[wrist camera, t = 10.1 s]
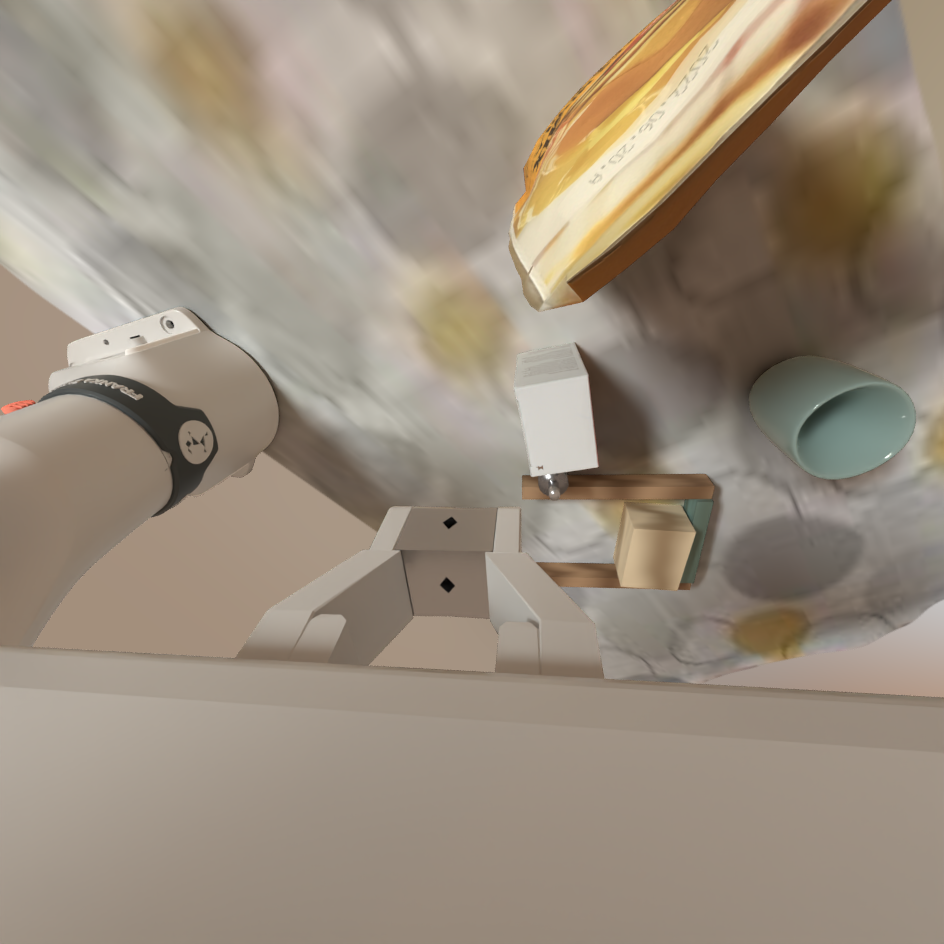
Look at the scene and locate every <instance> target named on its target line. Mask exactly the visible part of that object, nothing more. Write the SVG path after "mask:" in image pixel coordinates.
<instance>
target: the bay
mask: <svg viewBox="0 0 944 944" xmlns="http://www.w3.org/2000/svg"><path fill="white" fill-rule="evenodd" d="M567 476H568V482H569V485H568V488H567V490H566V491H565V492H564V493H563V494H562V495H560V498H559V499H685V503H684V508H683V510H684V511H685V513H686V515H687V517H688V519H689V521H690V522H691V524H692V526H693V528H694V530H695V531H696V534H695V538H694V541H693V544H692V547H691V550H690V553H689V556H688V559H687V562H686V565H685V569H684V572H683V575H682V578H681V581H680V584H679V587H678V590H690V587H691V583H694V580H695V576H696V572H697V568H698V563H699V559H700V555H701V551H702V547H703V543H704V539H705V535H706V531H707V527H708V523H709V519H710V515H711V510H712V506H713V500H712V496H713V492H714V488H715V486H714V485H713V483H712V482H711V481H710V479H709V478H708V477H707V475H706V474H639V475H567ZM522 499H550V498H549V496H547V495H545V494H543V493H542V492H541V491H540V489H539V486H538V476H535V477H531V475H522ZM536 563H537V564H538V565H539V566H540V567H541V568H542V569H543V570H544V571H545V572H546V573H547V574H548V575H549V577H550V578H551V579H552V580H553V581H554V582H555V583H556V584H557V585H558V586H560V587H598V588H633V587H621V586H620V582H619V578H618V574H617V570H616V566H615V564H596V563H543V562H536ZM637 589H647V588H637Z"/></svg>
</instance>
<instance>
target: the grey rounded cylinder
mask: <svg viewBox="0 0 944 944" xmlns="http://www.w3.org/2000/svg"><path fill="white" fill-rule="evenodd" d="M568 485H569V482H568V476H567V472H563V473H556V474H549V475H542V476H538V486H539V489H540V491H541V492H542V493H543V494H545V495H547V496H549V498H550V499H551V500H558V499H559V498H560V495H562V494H563V493H564V492H565V491H566V490H567V488H568Z"/></svg>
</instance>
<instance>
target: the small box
mask: <svg viewBox="0 0 944 944" xmlns="http://www.w3.org/2000/svg"><path fill="white" fill-rule="evenodd" d="M514 393H515V397H516V401H517V405H518V410H519V414H520V419H521V424H522V429H523V434H524V439H525V445H526V450H527V455H528V461H529V468H530V475H531V477H535V476H542V475H549V474H556V473H563V472H570V471H577V470H584V469H590V468H597V467H599V460H598V451H597V442H596V434H595V425H594V416H593V407H592V399H591V390H590V382H589V374H588V372H587V370H586V368H585V365H584V363H583V361H582V359H581V356H580V354H579V351H578V349H577V347H576V344H575V343H574V342H573V343H568V344H562V345H557V346H553V347H548V348H543V349H538V350H533V351H528V352H524V353H519V354H517V362H516V371H515V380H514Z"/></svg>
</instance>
